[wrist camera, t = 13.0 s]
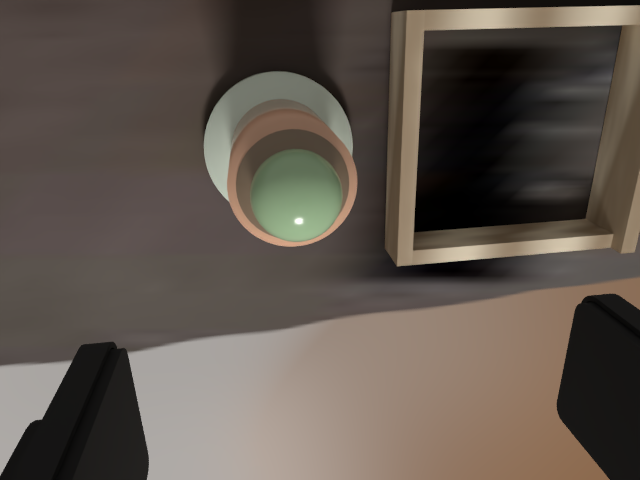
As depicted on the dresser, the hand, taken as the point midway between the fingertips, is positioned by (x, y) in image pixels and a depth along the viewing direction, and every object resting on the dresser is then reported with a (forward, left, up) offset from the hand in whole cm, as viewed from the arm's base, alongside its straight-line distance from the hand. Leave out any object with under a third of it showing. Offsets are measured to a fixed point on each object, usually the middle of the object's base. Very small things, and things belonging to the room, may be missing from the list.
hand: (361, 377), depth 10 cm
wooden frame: (-15, 0, -23) cm, 27 cm away
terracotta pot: (0, 0, -22) cm, 22 cm away
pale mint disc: (0, 0, -23) cm, 23 cm away
